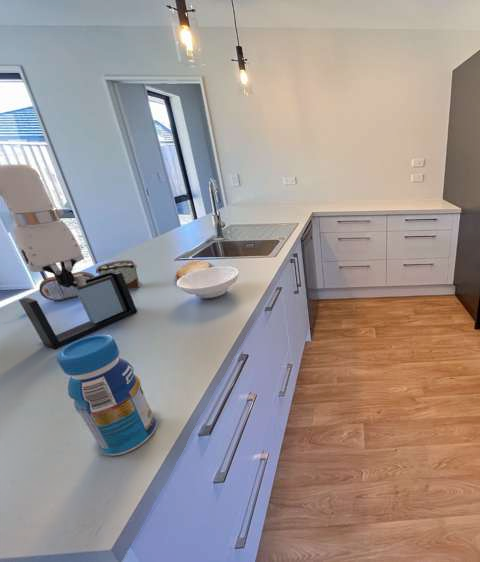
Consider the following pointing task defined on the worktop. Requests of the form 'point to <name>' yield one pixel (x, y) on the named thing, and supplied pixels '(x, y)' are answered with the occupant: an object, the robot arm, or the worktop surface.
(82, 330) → the window frame
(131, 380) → the beverage bottle
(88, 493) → the worktop surface
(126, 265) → the food container
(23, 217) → the robot arm
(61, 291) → the tin
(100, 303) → the sliding pane
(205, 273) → the bowl
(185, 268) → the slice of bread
